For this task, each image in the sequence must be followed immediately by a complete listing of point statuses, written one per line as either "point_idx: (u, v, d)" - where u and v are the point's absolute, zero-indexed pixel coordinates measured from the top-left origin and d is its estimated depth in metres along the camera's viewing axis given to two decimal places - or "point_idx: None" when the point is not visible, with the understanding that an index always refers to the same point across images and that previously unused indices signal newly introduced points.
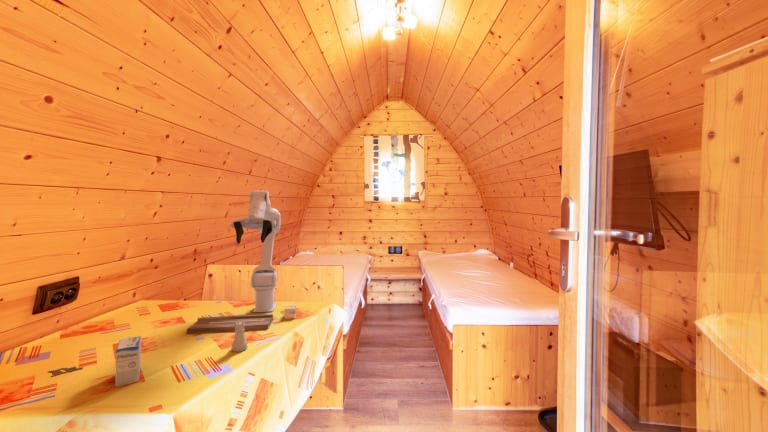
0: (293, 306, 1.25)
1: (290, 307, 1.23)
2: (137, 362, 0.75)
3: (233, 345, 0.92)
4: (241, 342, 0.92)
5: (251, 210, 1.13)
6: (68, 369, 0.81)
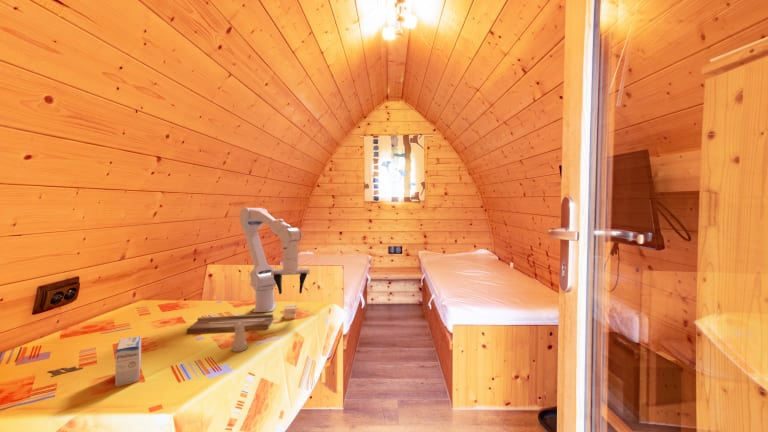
0: (293, 306, 1.25)
1: (290, 307, 1.23)
2: (137, 362, 0.75)
3: (233, 345, 0.92)
4: (241, 342, 0.92)
5: (287, 262, 1.21)
6: (68, 369, 0.81)
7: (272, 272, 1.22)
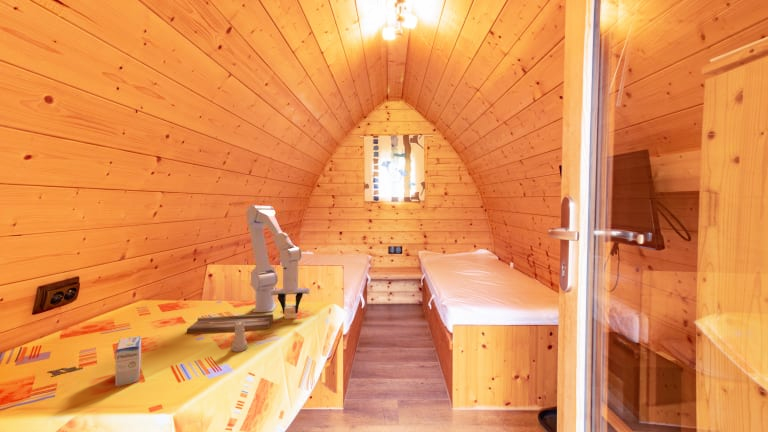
0: (293, 305, 1.25)
1: (290, 307, 1.23)
2: (137, 362, 0.75)
3: (233, 345, 0.92)
4: (241, 342, 0.92)
5: (287, 282, 1.21)
6: (68, 369, 0.81)
7: (272, 292, 1.22)
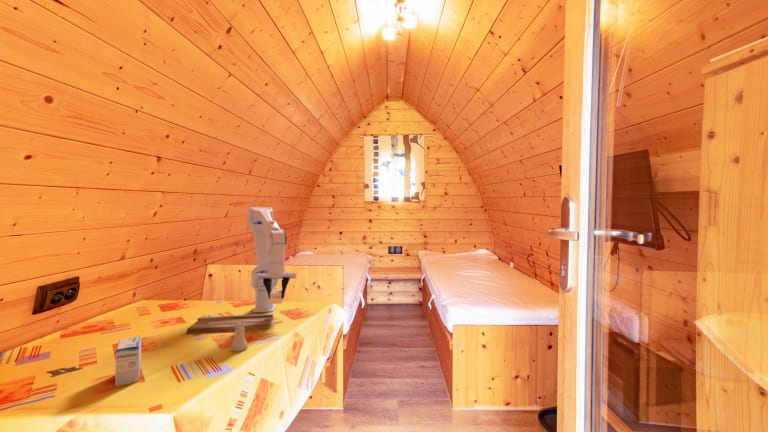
0: (279, 290, 1.20)
1: (276, 292, 1.18)
2: (137, 362, 0.75)
3: (233, 345, 0.92)
4: (241, 342, 0.92)
5: (272, 266, 1.17)
6: (68, 369, 0.81)
7: (257, 276, 1.17)
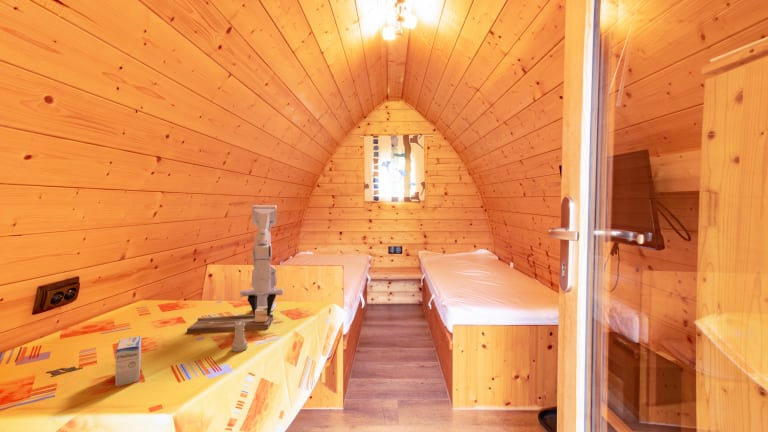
0: (265, 308, 1.15)
1: (261, 309, 1.14)
2: (137, 362, 0.75)
3: (233, 345, 0.92)
4: (241, 342, 0.92)
5: (257, 282, 1.12)
6: (67, 369, 0.81)
7: (242, 293, 1.13)
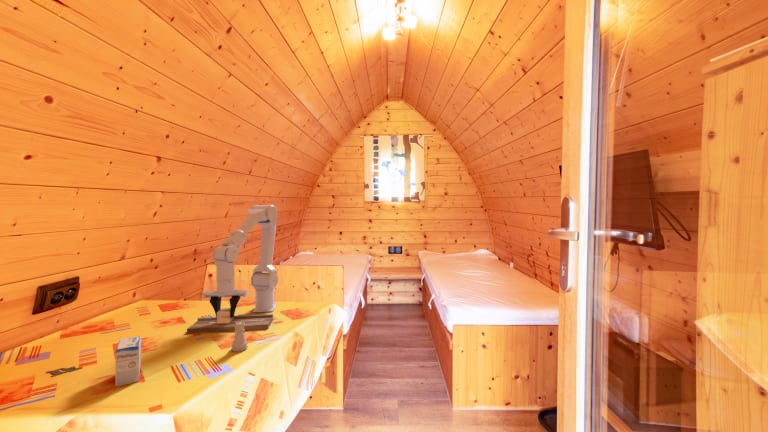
0: (229, 309, 1.13)
1: (224, 311, 1.12)
2: (137, 362, 0.75)
3: (233, 345, 0.92)
4: (241, 342, 0.92)
5: (220, 284, 1.10)
6: (67, 369, 0.81)
7: (204, 295, 1.11)
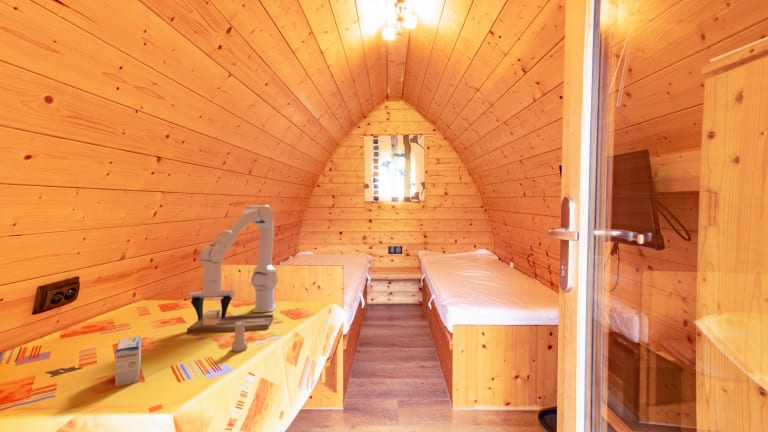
0: (215, 311, 1.13)
1: (211, 312, 1.11)
2: (137, 362, 0.75)
3: (233, 345, 0.92)
4: (241, 342, 0.92)
5: (206, 284, 1.09)
6: (67, 369, 0.81)
7: (190, 295, 1.10)
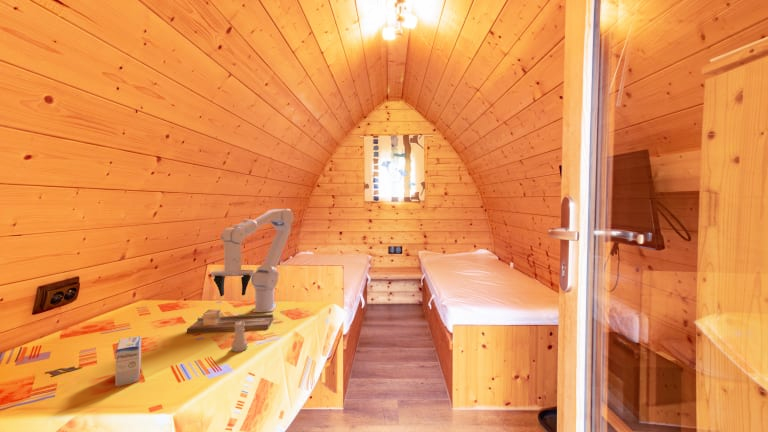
0: (215, 311, 1.13)
1: (211, 312, 1.11)
2: (137, 362, 0.75)
3: (233, 345, 0.92)
4: (241, 342, 0.92)
5: (227, 263, 1.17)
6: (67, 369, 0.81)
7: (213, 273, 1.18)
